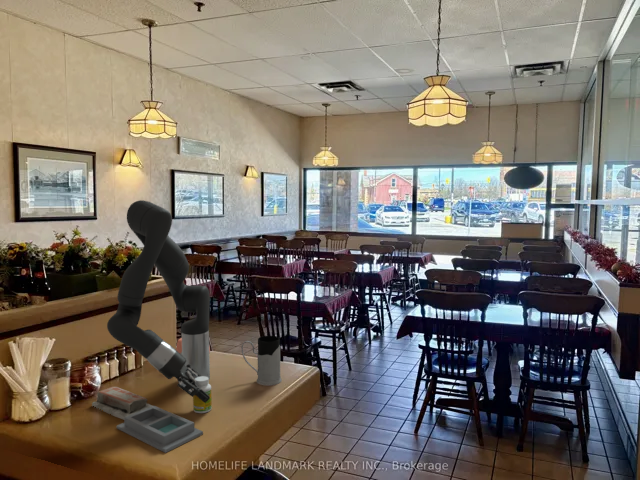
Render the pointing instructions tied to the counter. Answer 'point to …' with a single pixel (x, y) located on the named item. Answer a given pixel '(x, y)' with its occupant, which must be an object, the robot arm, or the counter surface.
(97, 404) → the packaged product
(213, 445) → the counter surface
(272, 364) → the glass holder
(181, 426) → the divided tray
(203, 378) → the supplement bottle
